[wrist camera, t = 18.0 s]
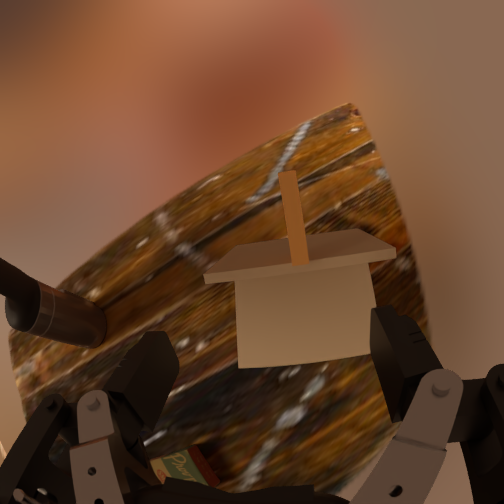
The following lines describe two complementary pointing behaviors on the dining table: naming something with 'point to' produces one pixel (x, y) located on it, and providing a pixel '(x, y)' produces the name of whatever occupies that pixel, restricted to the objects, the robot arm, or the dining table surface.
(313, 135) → the dining table surface
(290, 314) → the cardboard box
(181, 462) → the carton
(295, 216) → the tan box lid
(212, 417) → the dining table surface
